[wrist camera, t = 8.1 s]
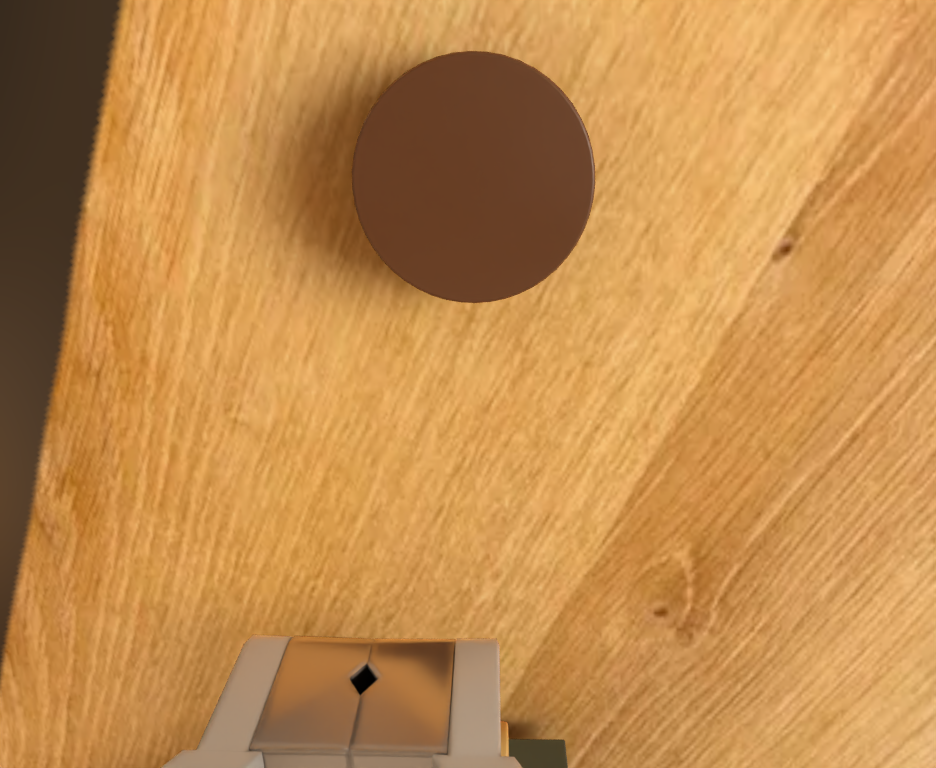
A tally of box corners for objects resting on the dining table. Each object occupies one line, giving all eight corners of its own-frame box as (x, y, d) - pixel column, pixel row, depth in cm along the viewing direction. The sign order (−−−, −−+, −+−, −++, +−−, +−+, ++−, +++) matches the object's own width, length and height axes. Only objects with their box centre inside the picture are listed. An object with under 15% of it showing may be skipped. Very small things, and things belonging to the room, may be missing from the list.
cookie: (324, 136, 19) (302, 142, 17) (515, 7, 18) (518, -6, 16) (441, 317, 21) (434, 343, 19) (621, 212, 20) (637, 228, 17)
